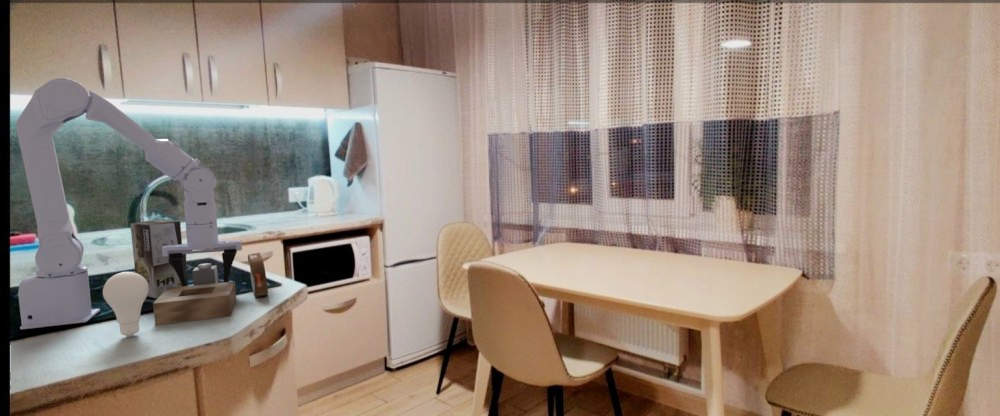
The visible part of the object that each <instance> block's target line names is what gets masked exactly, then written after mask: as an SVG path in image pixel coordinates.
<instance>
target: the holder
mask: <svg viewBox="0 0 1000 416" xmlns="http://www.w3.org/2000/svg"><path fill="white" fill-rule="evenodd" d="M236 302H237V289H236V281H235V280H234V281H229V282H224V281H223V282H218V283H213V284H202V285H194V284H193V285H188V286H182V287H172V288H167V289H166V290H165V291H164V292H163V293H162V294H161V296H160V297H159V298H156V299H155V301H154V302H152V306H153V317H154V318H153V319H154V326H158V325H159V326H160V325H167V324H169V325H170V324H177V323H185V322H191V321H200V320H208V319H216V318H217V319H218V318H224V317H226V318H227V317H231V316H232V314H233V311H234V308H235V305H236Z"/></svg>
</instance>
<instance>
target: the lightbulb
mask: <svg viewBox="0 0 1000 416" xmlns="http://www.w3.org/2000/svg"><path fill="white" fill-rule="evenodd" d="M148 290H149V287H148V283H147V281H146V279H145V278H144V277H143V276H141V275H140V274H137V273H135V271H122V272H119V273H116V274H114V275H112V276H111V277H109V278H108V279H107V280H106V281H105V284H104V285H103V288H102V296H103V299H104V300H105V302H106V303H107V304H108V305H109V306H110V308H111V309H112V311H113V313H114V315H115V318H116V322H117V323H118V326H119V332H120V335H122V336H125V337H127V338H131V337H134V336H135V335H136V334H137V333H139V331H140V320H141V312H142V307H143V303H144V302H145V300H146V299H147V297H148V296H147V294H148Z"/></svg>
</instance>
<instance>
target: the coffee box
mask: <svg viewBox="0 0 1000 416" xmlns="http://www.w3.org/2000/svg"><path fill="white" fill-rule="evenodd" d="M181 226H182V225H181V221H177V220H169V219H168V220H166V219H155V220H145V221H140V222H139V221H138V222H133V223H132V222H130V234H131V244H132V253H133V255H132V256H133V263H134V273H137V274H140V275H141V276H143V277H144V278H145V279H146V281H147V283H148V287H149V290H148V294H147V296H146V297H149V298H153V299H158V298H159V297H160V296H161V294H162V293H163V292H164V291H165V290H166V289H167V288H172V287H182V284H181V282H180V279H179V277H178V275H177V273H176V271H175V270H174V268H173V267H172V265H171V264H170V263H169V261H168V259H169V256H163V255H162V247H163V246H170V245H179V244H183V241H182V240H183V239H182V229H181Z"/></svg>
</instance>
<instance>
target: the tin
mask: <svg viewBox="0 0 1000 416" xmlns="http://www.w3.org/2000/svg"><path fill="white" fill-rule="evenodd" d="M247 262H248V265H249V269H250V282H251V288H252V291H253V292H252V293H253V294H254V295H253V296H254V297H255V298H259V297H265V296H268V295H269V289H268V280H267V273H266V268H265V263H264V259H263V257H262V254H261V252H256V253H255V252H254V253H250V254H249V253H248V255H247Z"/></svg>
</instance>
